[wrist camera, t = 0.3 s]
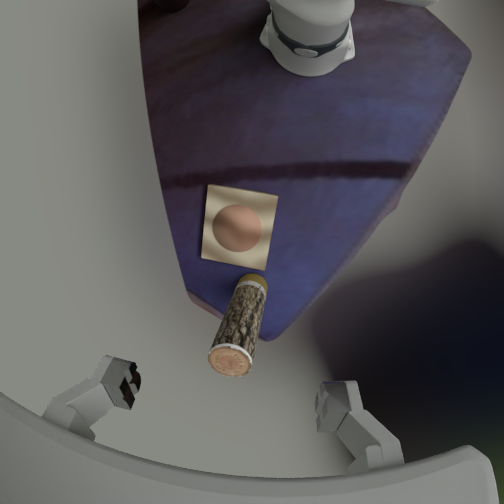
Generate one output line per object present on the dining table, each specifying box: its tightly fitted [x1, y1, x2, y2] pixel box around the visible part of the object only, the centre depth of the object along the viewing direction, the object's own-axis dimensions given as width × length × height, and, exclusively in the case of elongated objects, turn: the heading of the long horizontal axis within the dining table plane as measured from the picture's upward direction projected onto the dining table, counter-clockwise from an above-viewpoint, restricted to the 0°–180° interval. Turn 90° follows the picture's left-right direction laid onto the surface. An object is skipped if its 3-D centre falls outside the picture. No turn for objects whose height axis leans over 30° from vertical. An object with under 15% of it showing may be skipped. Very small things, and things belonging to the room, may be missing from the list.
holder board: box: [201, 184, 278, 270], centre depth 58 cm, size 16×14×2 cm
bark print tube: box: [208, 273, 268, 377], centre depth 51 cm, size 7×7×25 cm
